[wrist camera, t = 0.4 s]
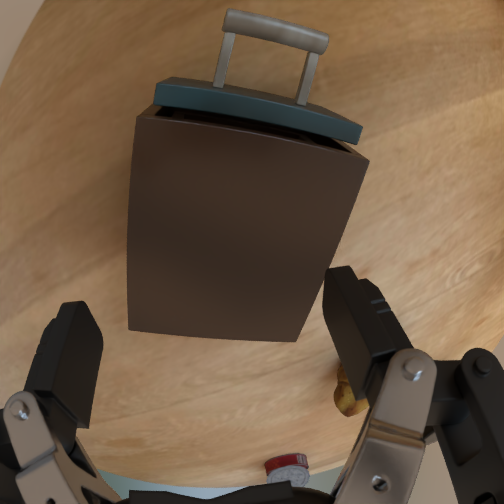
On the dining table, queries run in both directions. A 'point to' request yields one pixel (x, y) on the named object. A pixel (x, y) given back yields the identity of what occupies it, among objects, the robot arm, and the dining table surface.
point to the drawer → (256, 102)
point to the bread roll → (347, 396)
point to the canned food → (288, 469)
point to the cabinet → (232, 225)
